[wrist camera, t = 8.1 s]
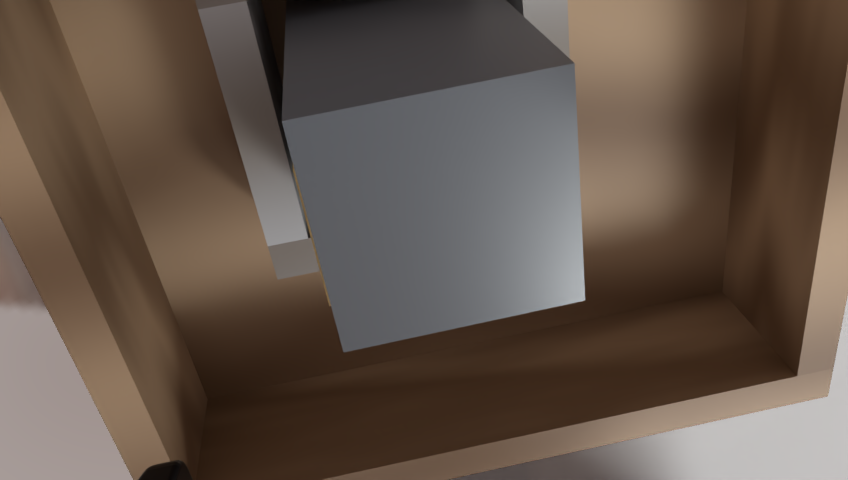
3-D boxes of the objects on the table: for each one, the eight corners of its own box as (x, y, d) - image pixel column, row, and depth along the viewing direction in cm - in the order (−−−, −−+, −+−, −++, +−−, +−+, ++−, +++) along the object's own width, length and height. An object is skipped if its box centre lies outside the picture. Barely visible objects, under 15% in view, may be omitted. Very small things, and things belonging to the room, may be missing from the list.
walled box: (734, 292, 24) (827, 396, 20) (188, 407, 23) (164, 541, 19) (791, -302, 16) (970, -341, 12) (-51, -165, 15) (-187, -154, 11)
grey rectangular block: (482, 121, 19) (587, 299, 12) (323, 153, 19) (340, 353, 12) (462, -42, 17) (578, 62, 10) (284, -8, 17) (278, 121, 10)
